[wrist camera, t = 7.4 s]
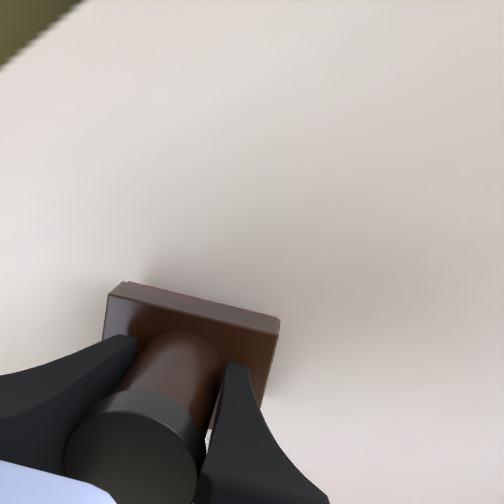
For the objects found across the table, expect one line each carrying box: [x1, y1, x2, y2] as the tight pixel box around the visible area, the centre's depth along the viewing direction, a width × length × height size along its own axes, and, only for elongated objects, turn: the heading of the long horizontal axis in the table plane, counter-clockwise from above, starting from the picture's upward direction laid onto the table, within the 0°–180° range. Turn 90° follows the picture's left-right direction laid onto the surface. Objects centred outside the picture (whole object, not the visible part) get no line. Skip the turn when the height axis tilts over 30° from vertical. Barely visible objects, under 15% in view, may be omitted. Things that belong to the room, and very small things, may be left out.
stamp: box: [64, 281, 280, 504], centre depth 13 cm, size 6×4×6 cm
